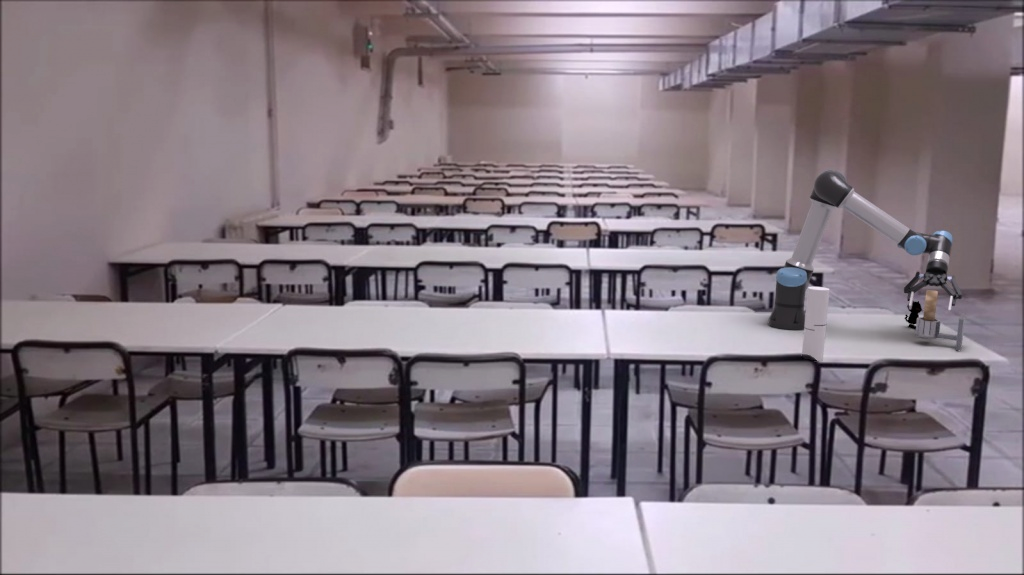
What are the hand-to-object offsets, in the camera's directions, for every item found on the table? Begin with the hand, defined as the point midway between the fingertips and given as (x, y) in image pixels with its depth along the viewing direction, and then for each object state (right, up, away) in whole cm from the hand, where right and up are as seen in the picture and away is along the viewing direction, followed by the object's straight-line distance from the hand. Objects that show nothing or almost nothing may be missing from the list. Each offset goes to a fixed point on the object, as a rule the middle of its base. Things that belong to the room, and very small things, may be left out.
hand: (929, 309), depth 342 cm
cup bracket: (+4, -14, +2) cm, 14 cm away
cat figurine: (+8, -8, +33) cm, 35 cm away
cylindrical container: (-52, -17, -24) cm, 60 cm away
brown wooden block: (+1, -9, +4) cm, 9 cm away
